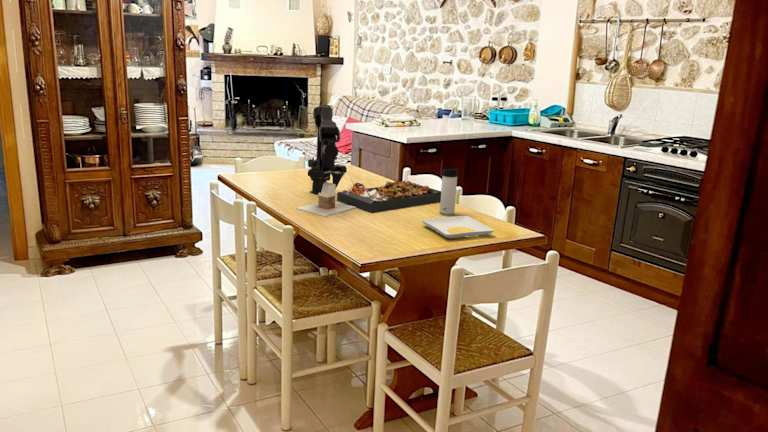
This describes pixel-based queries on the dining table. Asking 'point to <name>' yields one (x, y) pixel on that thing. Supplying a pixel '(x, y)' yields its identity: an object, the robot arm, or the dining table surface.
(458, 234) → the salad plate
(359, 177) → the dining table surface
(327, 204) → the walnut cube
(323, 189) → the offwhite cube
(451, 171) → the travel mug
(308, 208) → the blueprint board
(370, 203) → the food platter
